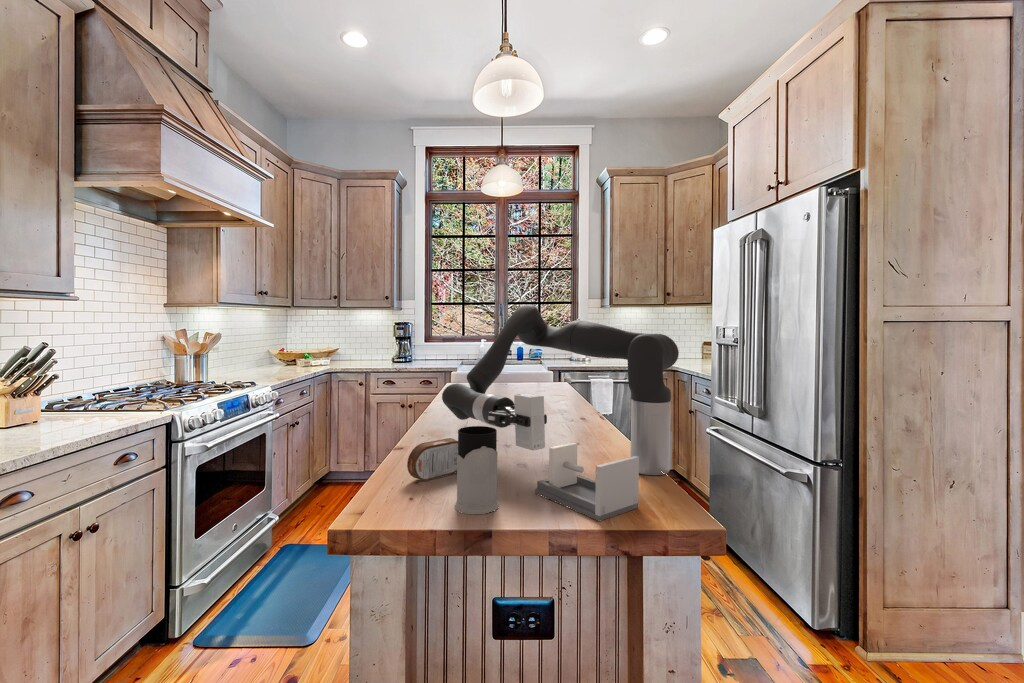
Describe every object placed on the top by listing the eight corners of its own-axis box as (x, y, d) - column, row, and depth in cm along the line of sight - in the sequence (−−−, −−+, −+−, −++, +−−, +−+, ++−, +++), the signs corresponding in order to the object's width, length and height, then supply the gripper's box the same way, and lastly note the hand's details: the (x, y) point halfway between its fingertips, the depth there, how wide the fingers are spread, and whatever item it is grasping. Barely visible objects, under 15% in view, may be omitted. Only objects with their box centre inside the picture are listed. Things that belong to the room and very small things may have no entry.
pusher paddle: (572, 481, 108) (573, 442, 108) (593, 489, 103) (593, 448, 103) (548, 488, 104) (549, 447, 104) (568, 496, 99) (569, 453, 99)
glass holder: (461, 517, 91) (461, 437, 91) (442, 492, 105) (442, 421, 104) (506, 511, 95) (506, 433, 94) (482, 487, 108) (482, 419, 107)
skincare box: (545, 448, 113) (546, 395, 113) (531, 451, 111) (531, 397, 110) (528, 443, 118) (528, 392, 118) (513, 446, 115) (513, 394, 115)
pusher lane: (573, 483, 111) (573, 439, 111) (638, 507, 97) (638, 457, 96) (535, 493, 104) (535, 446, 104) (599, 521, 90) (599, 467, 90)
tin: (459, 468, 122) (459, 434, 121) (467, 471, 119) (467, 436, 119) (406, 482, 111) (406, 445, 111) (414, 486, 109) (414, 448, 108)
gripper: (469, 397, 121) (512, 407, 107) (515, 392, 130) (561, 401, 116) (469, 428, 121) (512, 442, 108) (515, 421, 130) (560, 433, 116)
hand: (537, 420), depth 112 cm, fingers closed on skincare box, 4 cm apart
